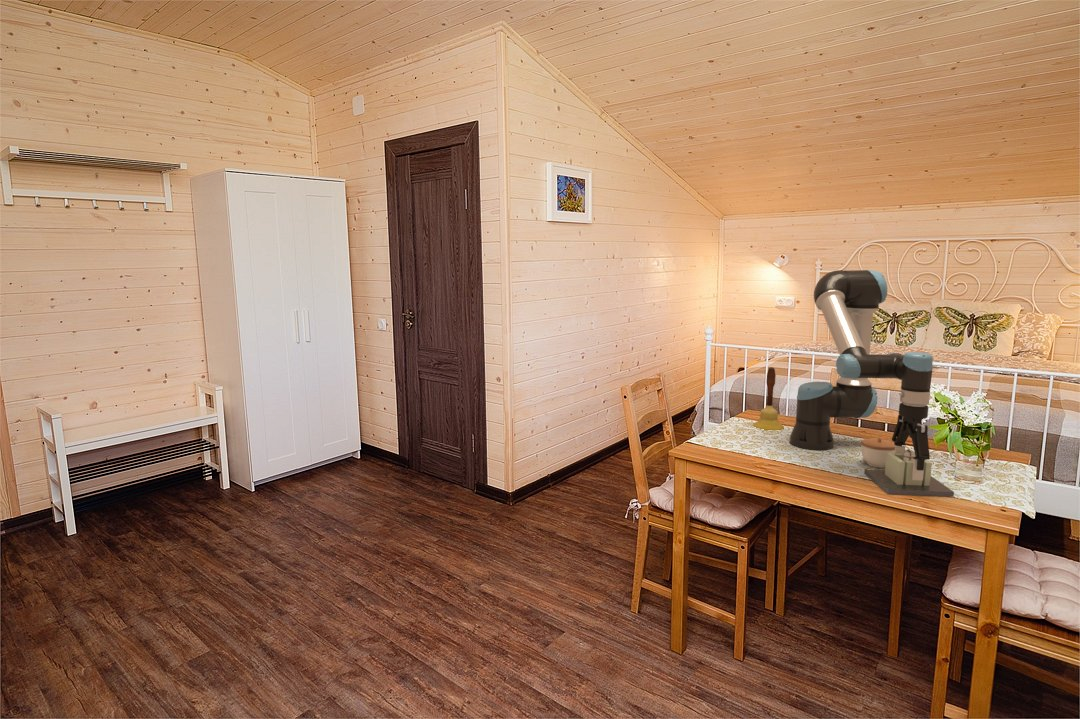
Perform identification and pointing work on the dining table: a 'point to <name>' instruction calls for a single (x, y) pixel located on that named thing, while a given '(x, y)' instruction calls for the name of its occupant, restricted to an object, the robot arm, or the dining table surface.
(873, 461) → the lidded jar
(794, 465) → the dining table surface
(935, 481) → the keeper base
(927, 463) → the square link
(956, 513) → the dining table surface
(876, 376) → the robot arm
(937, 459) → the dining table surface
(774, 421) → the handbell
